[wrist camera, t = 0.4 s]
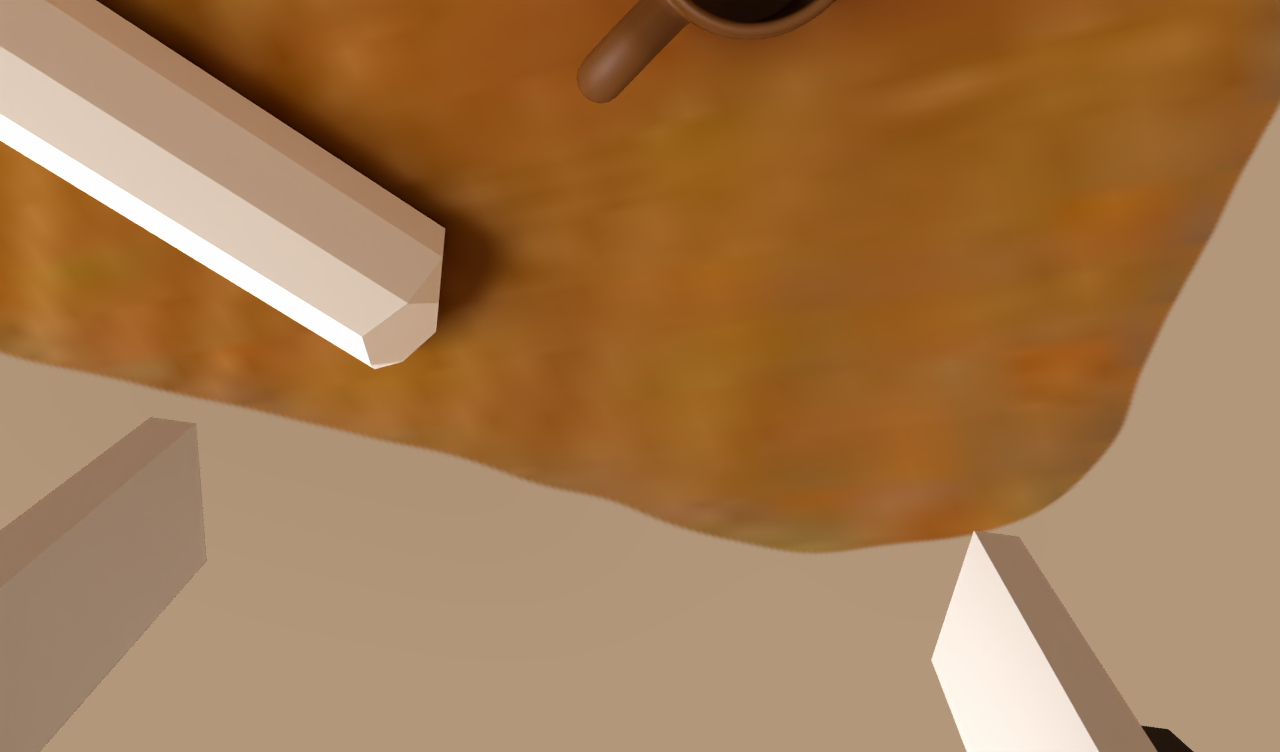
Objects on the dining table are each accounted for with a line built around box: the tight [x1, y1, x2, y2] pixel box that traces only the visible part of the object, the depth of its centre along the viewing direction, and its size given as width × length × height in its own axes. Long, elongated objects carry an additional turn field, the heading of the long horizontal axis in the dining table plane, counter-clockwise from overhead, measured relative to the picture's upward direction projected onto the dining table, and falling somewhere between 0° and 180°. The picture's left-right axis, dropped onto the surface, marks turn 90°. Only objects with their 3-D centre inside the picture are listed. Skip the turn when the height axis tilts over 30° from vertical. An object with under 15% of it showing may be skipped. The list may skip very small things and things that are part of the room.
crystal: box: [0, 0, 445, 369], centre depth 38 cm, size 7×7×24 cm
